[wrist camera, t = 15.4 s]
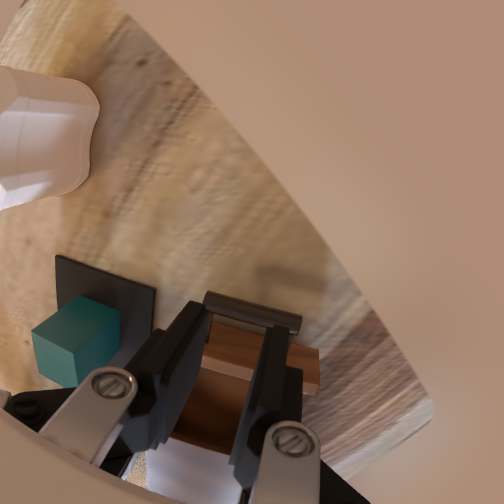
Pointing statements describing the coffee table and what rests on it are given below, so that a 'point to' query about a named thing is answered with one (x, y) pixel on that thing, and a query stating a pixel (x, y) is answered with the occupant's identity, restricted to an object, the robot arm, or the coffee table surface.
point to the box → (76, 341)
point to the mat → (109, 302)
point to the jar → (43, 135)
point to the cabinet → (191, 471)
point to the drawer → (236, 368)
